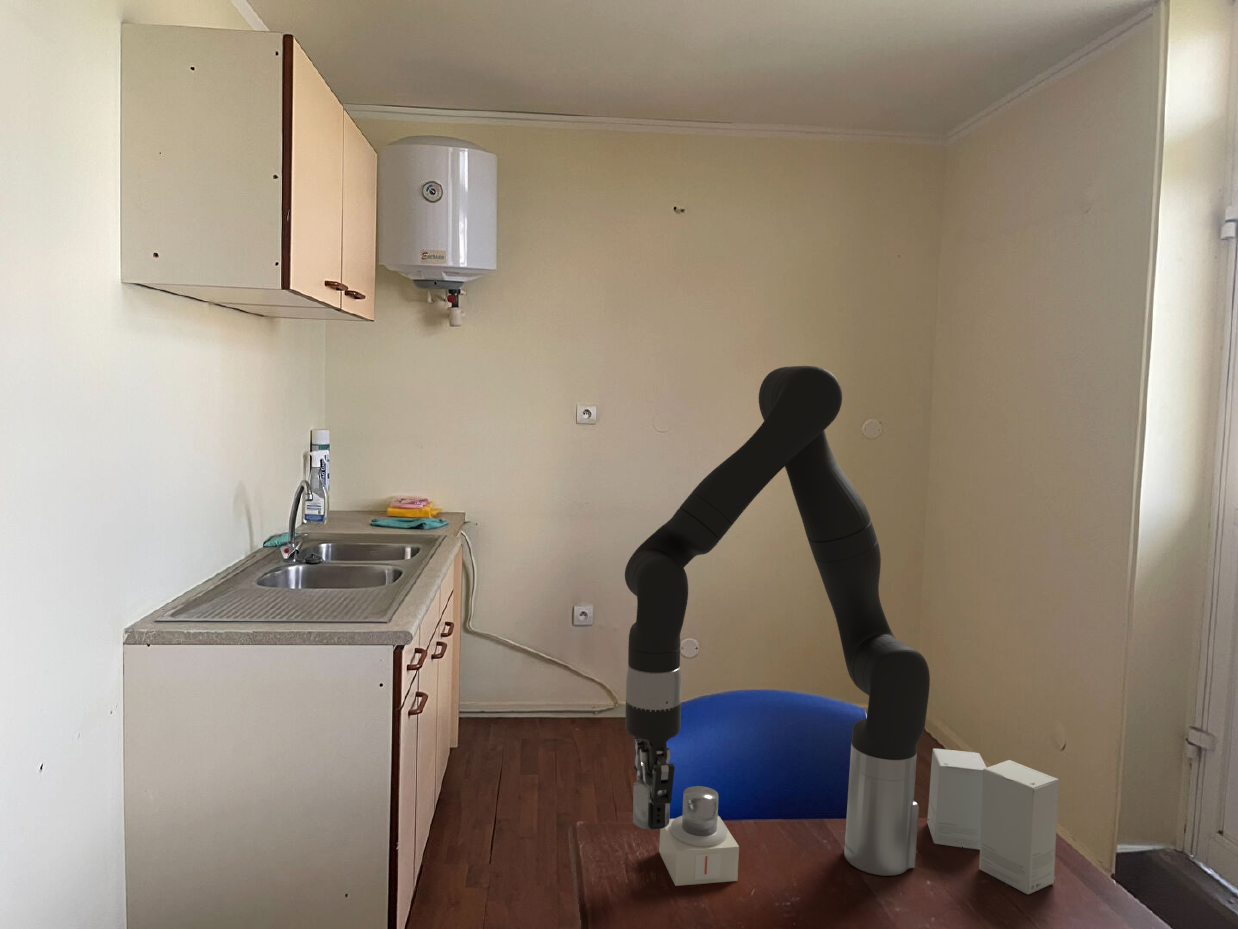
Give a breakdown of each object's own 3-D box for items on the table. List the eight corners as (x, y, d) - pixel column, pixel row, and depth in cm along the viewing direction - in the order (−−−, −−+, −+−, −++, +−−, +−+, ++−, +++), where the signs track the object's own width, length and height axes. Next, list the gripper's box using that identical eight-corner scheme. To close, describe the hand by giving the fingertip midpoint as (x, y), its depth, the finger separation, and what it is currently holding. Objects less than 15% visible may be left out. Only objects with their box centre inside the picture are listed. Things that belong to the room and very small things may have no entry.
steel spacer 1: (664, 810, 125) (664, 776, 125) (673, 828, 120) (674, 792, 120) (629, 813, 124) (630, 779, 124) (637, 831, 119) (638, 795, 119)
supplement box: (983, 851, 136) (990, 771, 135) (932, 844, 137) (938, 765, 136) (974, 828, 143) (980, 752, 142) (926, 822, 144) (931, 746, 143)
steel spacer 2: (710, 818, 131) (712, 785, 130) (721, 835, 126) (723, 801, 125) (677, 820, 130) (679, 787, 129) (687, 837, 125) (689, 803, 124)
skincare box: (1054, 885, 127) (1063, 779, 126) (1026, 897, 124) (1035, 789, 122) (1002, 857, 134) (1010, 757, 133) (974, 868, 131) (982, 766, 129)
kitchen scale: (717, 848, 134) (719, 810, 133) (738, 882, 125) (740, 842, 124) (659, 852, 132) (660, 814, 131) (676, 887, 123) (677, 847, 122)
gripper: (695, 715, 115) (692, 841, 116) (666, 678, 129) (664, 792, 130) (638, 719, 113) (636, 847, 115) (615, 681, 127) (614, 796, 129)
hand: (651, 817), depth 122 cm, fingers closed on steel spacer 1, 5 cm apart
